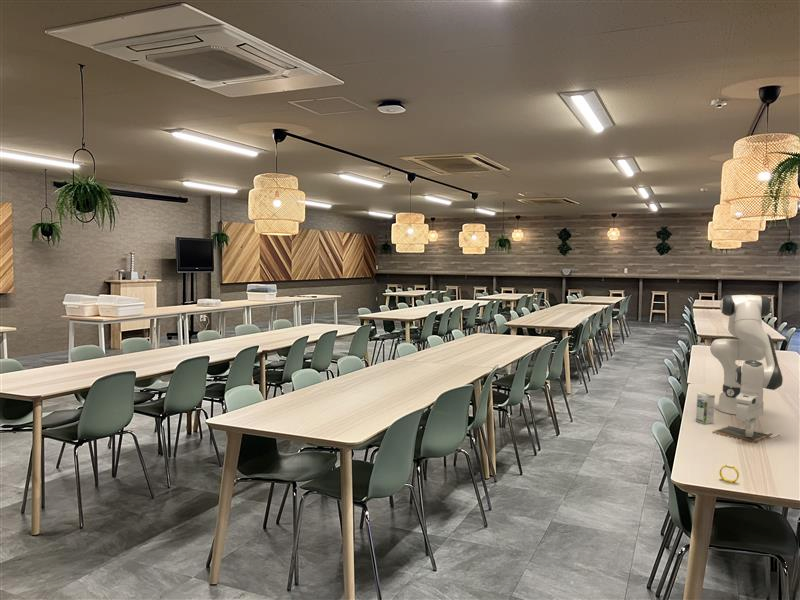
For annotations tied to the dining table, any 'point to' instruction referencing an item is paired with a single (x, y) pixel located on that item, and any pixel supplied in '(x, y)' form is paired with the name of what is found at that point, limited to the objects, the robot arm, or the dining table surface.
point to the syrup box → (705, 408)
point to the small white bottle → (750, 431)
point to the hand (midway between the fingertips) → (749, 427)
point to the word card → (771, 434)
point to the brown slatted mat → (740, 434)
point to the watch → (729, 467)
